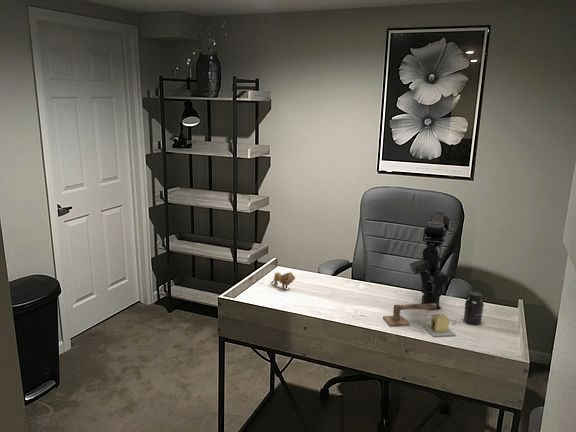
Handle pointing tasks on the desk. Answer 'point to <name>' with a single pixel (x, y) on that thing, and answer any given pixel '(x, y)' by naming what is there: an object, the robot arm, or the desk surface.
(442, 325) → the slotted brass block
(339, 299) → the desk surface
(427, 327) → the slate mat
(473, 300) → the supplement bottle
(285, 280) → the lion figurine
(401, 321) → the walnut stand
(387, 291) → the desk surface
